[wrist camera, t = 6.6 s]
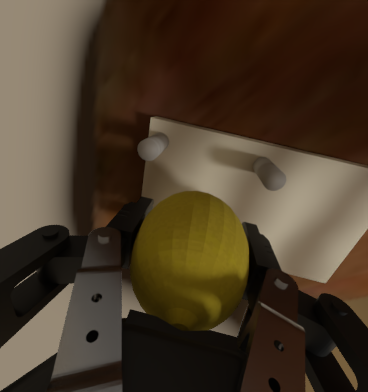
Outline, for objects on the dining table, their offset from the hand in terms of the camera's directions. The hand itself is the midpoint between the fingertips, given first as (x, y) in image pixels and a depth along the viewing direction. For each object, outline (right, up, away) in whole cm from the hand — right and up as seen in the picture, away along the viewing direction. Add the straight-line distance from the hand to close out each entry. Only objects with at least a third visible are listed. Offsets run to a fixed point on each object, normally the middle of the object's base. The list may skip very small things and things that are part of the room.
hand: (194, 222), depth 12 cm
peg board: (+5, +1, +4) cm, 6 cm away
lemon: (0, +1, +2) cm, 2 cm away
